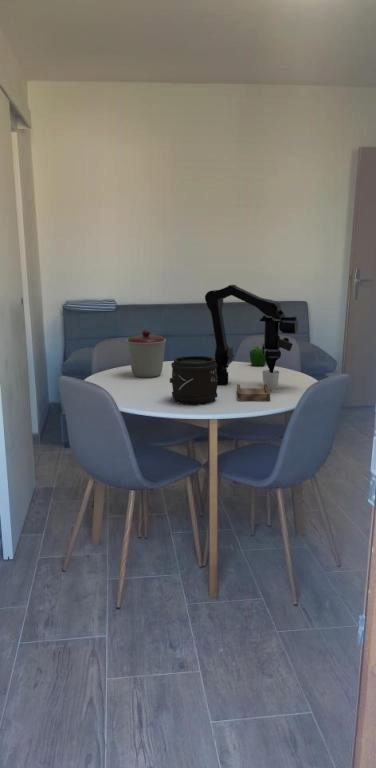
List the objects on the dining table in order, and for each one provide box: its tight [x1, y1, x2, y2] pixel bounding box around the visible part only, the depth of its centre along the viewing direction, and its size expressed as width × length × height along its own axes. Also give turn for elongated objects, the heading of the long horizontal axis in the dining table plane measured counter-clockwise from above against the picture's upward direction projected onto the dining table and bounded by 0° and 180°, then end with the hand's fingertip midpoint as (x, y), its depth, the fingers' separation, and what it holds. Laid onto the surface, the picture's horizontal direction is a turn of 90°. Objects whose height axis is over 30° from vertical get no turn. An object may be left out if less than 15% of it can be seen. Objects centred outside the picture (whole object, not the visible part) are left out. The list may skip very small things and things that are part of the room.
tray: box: [236, 384, 271, 402], centre depth 230 cm, size 12×16×3 cm
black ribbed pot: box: [169, 355, 218, 406], centre depth 224 cm, size 18×18×16 cm
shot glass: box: [261, 369, 280, 391], centre depth 243 cm, size 7×7×7 cm
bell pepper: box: [249, 345, 266, 367], centre depth 289 cm, size 8×8×10 cm
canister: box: [125, 329, 167, 378], centre depth 267 cm, size 18×18×21 cm
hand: (270, 370), depth 242 cm, fingers open, 9 cm apart
